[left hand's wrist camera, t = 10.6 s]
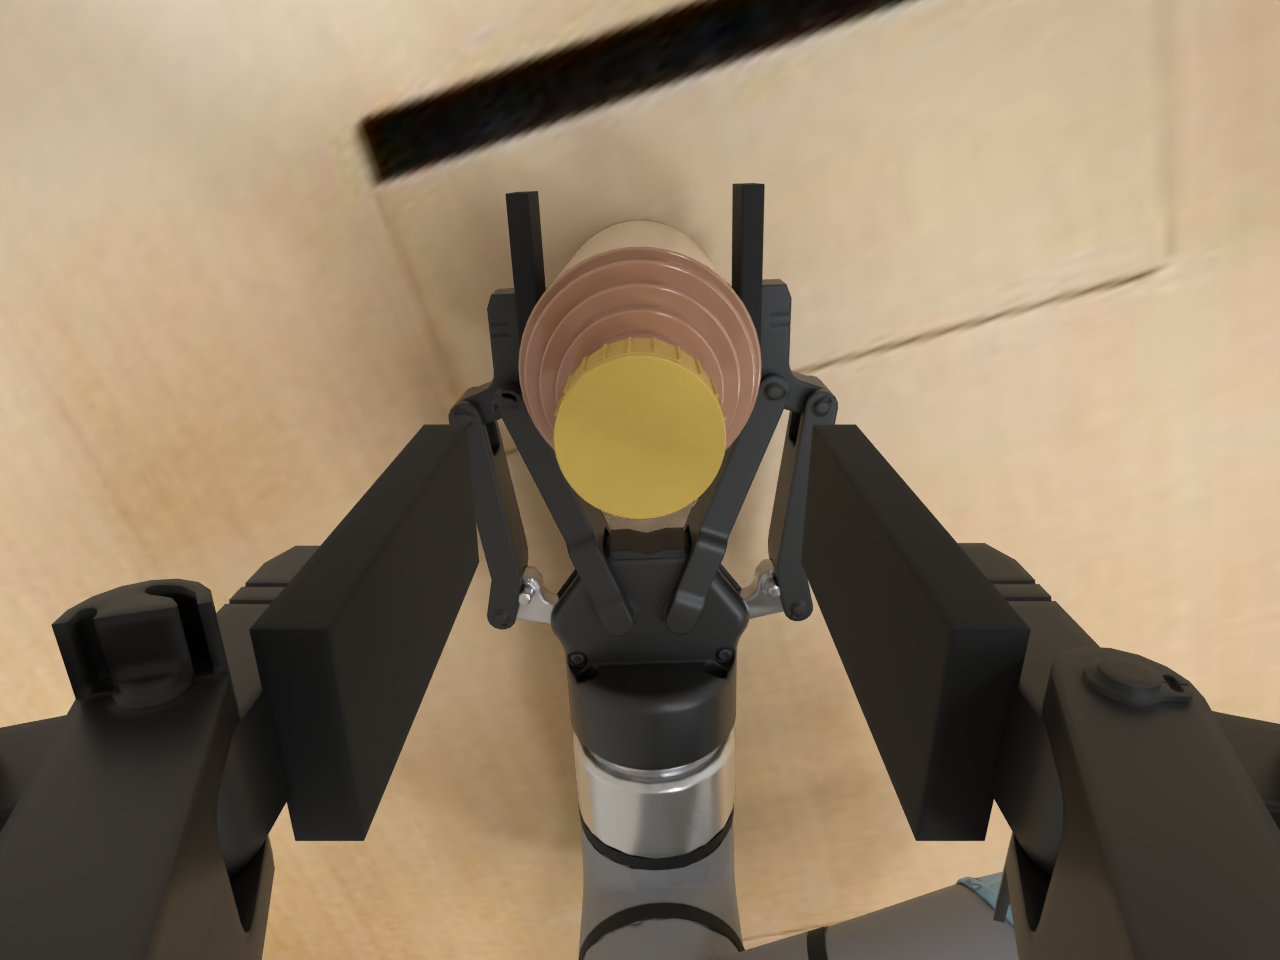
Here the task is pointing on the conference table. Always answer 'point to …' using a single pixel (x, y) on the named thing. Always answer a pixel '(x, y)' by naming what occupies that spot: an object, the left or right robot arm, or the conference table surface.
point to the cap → (639, 429)
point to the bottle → (639, 318)
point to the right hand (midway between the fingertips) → (634, 189)
